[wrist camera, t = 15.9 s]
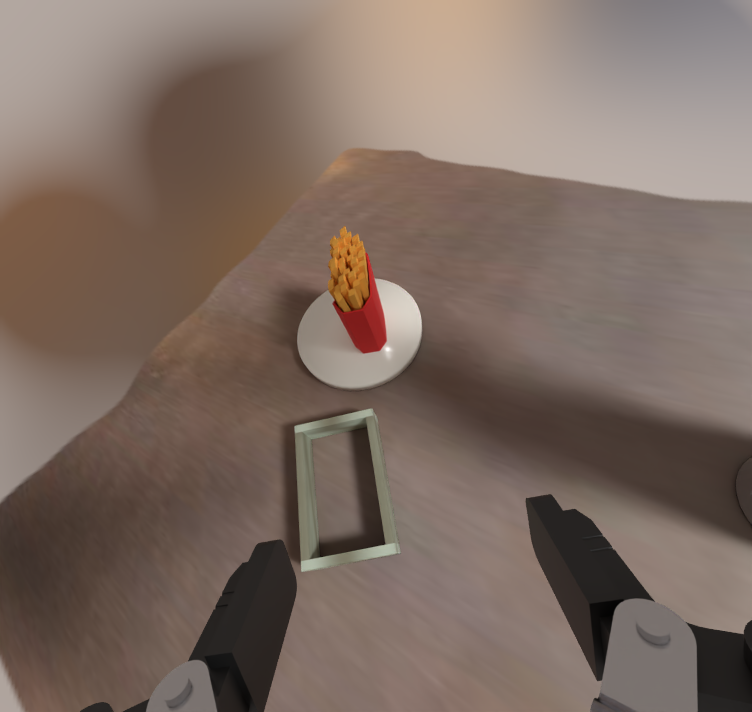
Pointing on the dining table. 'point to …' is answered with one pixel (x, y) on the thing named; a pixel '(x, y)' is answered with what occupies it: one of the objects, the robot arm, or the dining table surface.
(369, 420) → the open rectangular box
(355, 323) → the french fries
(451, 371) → the dining table surface
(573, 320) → the dining table surface
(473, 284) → the dining table surface
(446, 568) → the dining table surface
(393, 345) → the ceramic plate
